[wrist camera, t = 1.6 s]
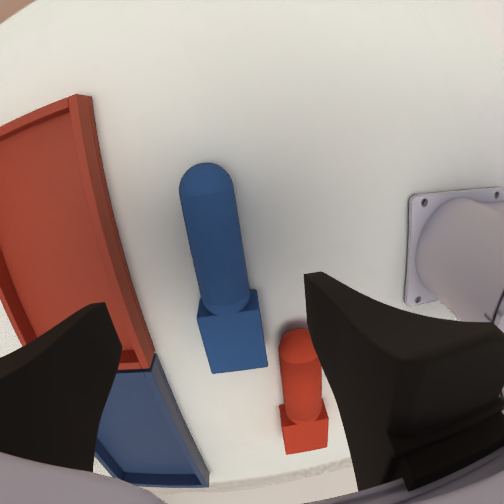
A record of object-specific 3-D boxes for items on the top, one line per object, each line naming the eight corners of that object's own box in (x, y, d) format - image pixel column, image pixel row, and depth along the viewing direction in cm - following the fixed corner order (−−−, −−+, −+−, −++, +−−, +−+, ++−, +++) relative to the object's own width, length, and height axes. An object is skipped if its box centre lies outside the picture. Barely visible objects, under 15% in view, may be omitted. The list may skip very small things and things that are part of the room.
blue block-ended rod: (172, 166, 17) (161, 173, 15) (236, 155, 17) (237, 160, 15) (213, 351, 22) (211, 378, 19) (264, 344, 22) (268, 371, 19)
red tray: (91, 96, 15) (76, 93, 13) (155, 350, 22) (150, 368, 20) (-24, 146, 15) (-42, 149, 13) (45, 355, 22) (35, 370, 20)
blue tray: (156, 353, 22) (151, 372, 20) (209, 472, 28) (209, 487, 26) (46, 358, 22) (37, 373, 20) (122, 471, 28) (119, 484, 26)
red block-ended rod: (268, 325, 21) (272, 351, 19) (321, 316, 21) (331, 340, 19) (282, 434, 26) (286, 458, 23) (321, 427, 26) (328, 451, 23)
